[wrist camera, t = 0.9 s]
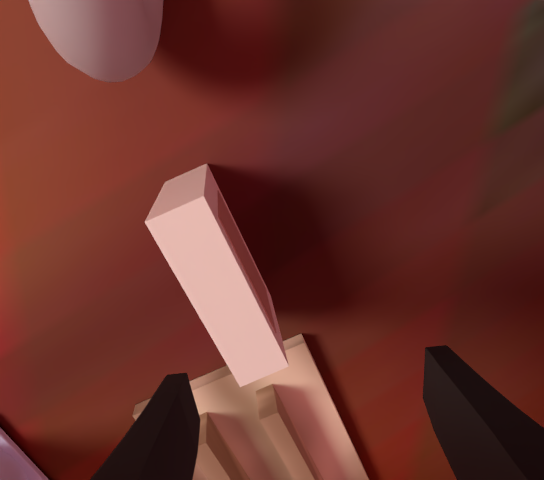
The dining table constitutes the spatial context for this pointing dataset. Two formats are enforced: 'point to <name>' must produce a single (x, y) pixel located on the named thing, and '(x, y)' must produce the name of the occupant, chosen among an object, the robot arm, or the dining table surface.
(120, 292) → the dining table surface
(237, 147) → the dining table surface
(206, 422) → the notched stand
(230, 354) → the pale pink flat block
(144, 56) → the donut
